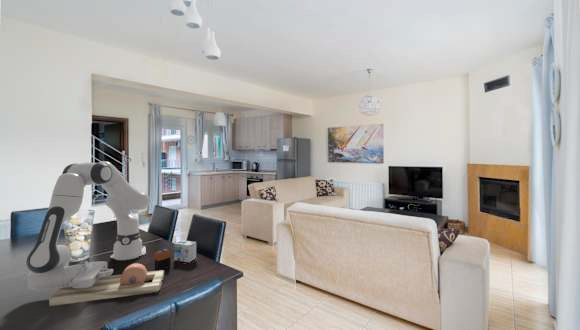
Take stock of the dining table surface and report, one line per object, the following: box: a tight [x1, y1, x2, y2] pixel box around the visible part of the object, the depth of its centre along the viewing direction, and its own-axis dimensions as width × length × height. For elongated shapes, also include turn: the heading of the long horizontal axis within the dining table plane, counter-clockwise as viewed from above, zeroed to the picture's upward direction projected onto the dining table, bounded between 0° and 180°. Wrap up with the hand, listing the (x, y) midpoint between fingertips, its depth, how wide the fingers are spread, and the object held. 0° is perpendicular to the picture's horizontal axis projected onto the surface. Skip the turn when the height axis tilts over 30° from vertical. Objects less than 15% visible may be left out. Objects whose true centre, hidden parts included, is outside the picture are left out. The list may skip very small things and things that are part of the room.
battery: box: [154, 248, 171, 271], centre depth 145 cm, size 4×7×10 cm, turn 146°
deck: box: [48, 269, 165, 307], centre depth 122 cm, size 17×40×3 cm, turn 108°
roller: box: [120, 262, 148, 286], centre depth 124 cm, size 6×10×10 cm, turn 111°
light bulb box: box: [173, 239, 197, 262], centre depth 156 cm, size 11×7×11 cm, turn 71°
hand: (112, 271), depth 122 cm, fingers closed
